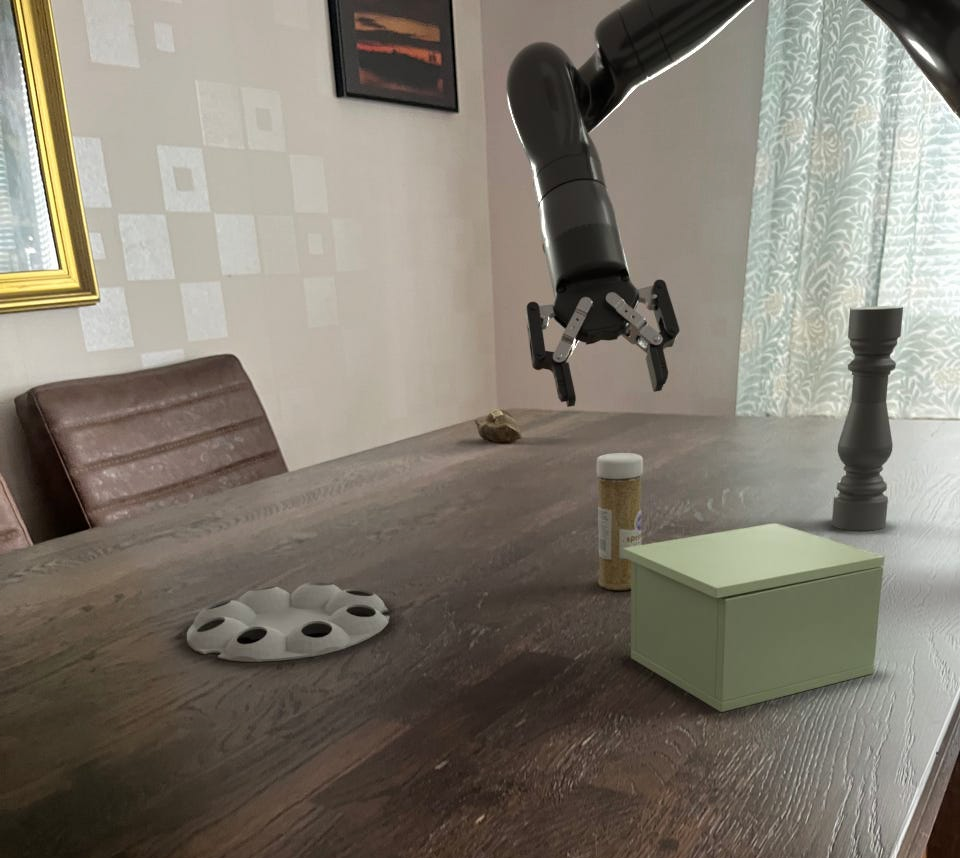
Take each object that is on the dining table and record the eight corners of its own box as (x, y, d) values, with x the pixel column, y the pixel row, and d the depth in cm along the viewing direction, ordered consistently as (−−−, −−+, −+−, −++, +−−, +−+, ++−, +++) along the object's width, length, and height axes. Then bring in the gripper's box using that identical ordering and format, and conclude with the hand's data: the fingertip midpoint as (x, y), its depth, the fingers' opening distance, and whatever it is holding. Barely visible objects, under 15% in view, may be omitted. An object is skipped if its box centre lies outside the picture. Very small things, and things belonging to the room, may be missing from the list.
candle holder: (880, 532, 117) (900, 308, 108) (825, 528, 120) (841, 310, 112) (890, 520, 122) (910, 305, 113) (838, 516, 125) (854, 306, 117)
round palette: (424, 630, 94) (422, 610, 93) (219, 679, 85) (215, 657, 84) (344, 581, 110) (342, 564, 109) (164, 618, 101) (161, 599, 101)
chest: (721, 712, 74) (725, 599, 71) (630, 658, 85) (630, 558, 82) (873, 673, 79) (883, 566, 76) (770, 627, 90) (775, 532, 87)
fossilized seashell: (464, 427, 193) (487, 443, 185) (481, 397, 192) (505, 411, 184) (493, 443, 197) (517, 459, 190) (510, 413, 196) (534, 427, 188)
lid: (715, 598, 70) (716, 588, 70) (622, 557, 81) (622, 547, 81) (883, 566, 76) (884, 556, 76) (775, 531, 87) (775, 522, 87)
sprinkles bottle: (641, 591, 101) (642, 459, 97) (596, 591, 102) (595, 460, 97) (642, 578, 106) (642, 451, 101) (598, 578, 106) (597, 452, 102)
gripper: (512, 234, 95) (544, 393, 92) (659, 208, 95) (696, 365, 92) (510, 275, 102) (540, 423, 99) (647, 251, 102) (681, 398, 100)
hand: (615, 395), depth 96 cm, fingers open, 8 cm apart
